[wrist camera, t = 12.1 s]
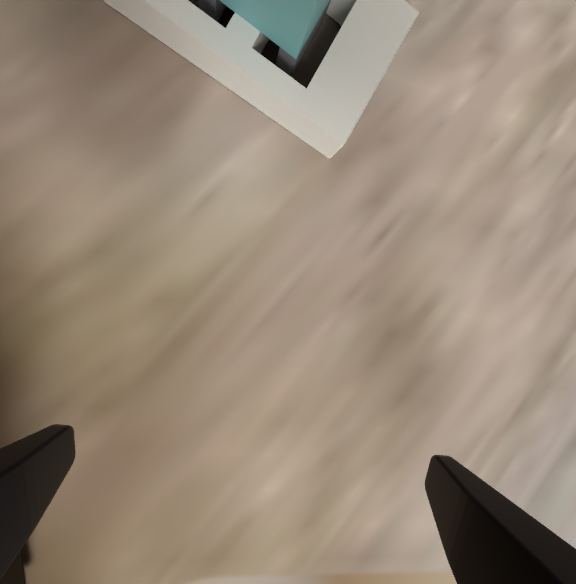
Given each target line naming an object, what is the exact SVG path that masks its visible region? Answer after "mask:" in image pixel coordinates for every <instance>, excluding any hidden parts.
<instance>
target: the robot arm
mask: <svg viewBox="0 0 576 584" xmlns="http://www.w3.org/2000/svg"><path fill="white" fill-rule="evenodd" d="M74 459H75V440H74V429H73V428H72V426H69V425H59V424H55V425H51V426H49V427H47V428H44V429H42V430H40V431H38V432H36V433H34V434H31V435H29V436H27V437H25V438H23V439H21V440H18V441H16V442H14V443H12V444H10V445H8V446H5V447H3V448H1V449H0V584H25V581H24V574H23V566H22V558H21V549H22V547H23V546H24V544H25V543H26V541H27V540H28V538H29V537H30V535H31V534H32V532H33V531H34V529H35V527H36V526H37V524H38V523H39V521H40V519H41V518H42V516H43V514H44V512H45V511H46V509H47V507H48V506H49V504H50V502H51V500H52V499H53V497H54V495H55V493H56V492H57V490H58V488H59V487H60V485H61V483H62V481H63V480H64V478H65V476H66V475H67V473H68V471H69V469H70V468H71V466H72V464H73V462H74ZM425 489H426V493H427V496H428V500H429V503H430V506H431V509H432V512H433V515H434V519H435V522H436V525H437V528H438V531H439V535H440V538H441V541H442V544H443V547H444V550H445V553H446V556H447V559H448V562H449V564H450V567H451V570H452V572H453V575H454V577H455V579H456V582H457V584H576V549H575V548H574V547H572V546H571V545H570V544H568V543H567V542H566V541H564V540H563V539H561V538H560V537H559V536H557V535H556V534H555V533H553V532H552V531H551V530H549V529H548V528H547V527H545V526H544V525H542V524H541V523H540V522H538V521H537V520H536V519H534V518H533V517H532V516H530V515H529V514H528V513H526V512H525V511H524V510H522V509H521V508H519V507H518V506H517V505H515V504H514V503H513V502H511V501H510V500H509V499H507V498H506V497H505V496H503V495H502V494H500V493H499V492H498V491H496V490H495V489H494V488H492V487H491V486H490V485H488V484H487V483H486V482H484V481H483V480H482V479H480V478H479V477H477V476H476V475H475V474H473V473H472V472H471V471H469V470H468V469H467V468H465V467H464V466H463V465H461V464H460V463H458V462H457V461H456V460H454V459H453V458H452V457H450V456H444V455H434V456H432V458H431V460H430V464H429V468H428V472H427V475H426V479H425Z"/></svg>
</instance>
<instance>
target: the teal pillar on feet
mask: <svg viewBox="0 0 576 584" xmlns="http://www.w3.org/2000/svg"><path fill="white" fill-rule="evenodd" d="M330 2H331V0H199V8H200V10H202V11H203V12H204V13H206V14H207V15H208V16H210V17H211V18H213V19H214V20H215V21H217V22H218V20H219V18H220V17H221V15H222V13H223V11H224V10H225V8H226V6H227V7H229V8H230V9H231V10H233V11H234V12H235V13H236V14H238V15H239V16H240V17H242V18H243V19H244V20H246V21H247V22H248V23H249V24H251V25H252V26H253V27H255V28H256V29H257V30H259V31H260V32H261V33H262V34H264V35H265V36H266V37H268V38H269V39H270V40H272V41H273V42H274V43H275V44H277V45H278V46H279V47H280V49H279V53H278V57H277V61H276V66H277V67H278V68H280V69H281V70H282V71H284V72H285V73H286V74H288V75H289V76H290V77H291V76H292V74H293V72H294V71H295V69H296V67H297V65H298V64H299V62H300V60H301V58H302V57H303V55H304V53H305V51H306V50H307V48H308V46H309V44H310V43H311V41H312V39H313V37H314V36H315V34H316V32H317V30H318V29H319V27H320V25H321V23H322V21H323V19H324V17H325V14H326V12H327V9H328V7H329V4H330Z"/></svg>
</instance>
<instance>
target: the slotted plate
mask: <svg viewBox="0 0 576 584" xmlns="http://www.w3.org/2000/svg"><path fill="white" fill-rule="evenodd" d="M103 1H104V2H105V3H107V4H108V5H110V6H111V7H113V8H114V9H115V10H117V11H118V12H120V13H121V14H123V15H124V16H125V17H127V18H128V19H130V20H131V21H133V22H134V23H135V24H137V25H138V26H140V27H141V28H143V29H144V30H145V31H147V32H148V33H150V34H151V35H153V36H154V37H155V38H157V39H158V40H160V41H161V42H163V43H164V44H165V45H167V46H168V47H170V48H171V49H173V50H174V51H175V52H177V53H178V54H180V55H181V56H183V57H184V58H185V59H187V60H188V61H190V62H191V63H193V64H194V65H196V66H197V67H198V68H200V69H201V70H203V71H204V72H206V73H207V74H208V75H210V76H211V77H213V78H214V79H216V80H217V81H218V82H220V83H221V84H223V85H224V86H226V87H227V88H228V89H230V90H231V91H233V92H234V93H236V94H237V95H238V96H240V97H241V98H243V99H244V100H246V101H247V102H248V103H250V104H251V105H253V106H254V107H256V108H257V109H258V110H260V111H261V112H263V113H264V114H266V115H267V116H268V117H270V118H271V119H273V120H274V121H276V122H277V123H278V124H280V125H281V126H283V127H284V128H286V129H287V130H289V131H290V132H291V133H293V134H294V135H296V136H297V137H299V138H300V139H301V140H303V141H304V142H306V143H307V144H309V145H310V146H311V147H313V148H314V149H316V150H317V151H319V152H320V153H321V154H323V155H324V156H326V157H327V158H329V159H330V158H331V157H332V156H333V155H334V154H335V153H336V152H337V151H338V150H339V149H340V148H342V147H343V146H344V145H345V143H346V141H347V139H348V138H349V136H350V134H351V132H352V130H353V129H354V127H355V125H356V123H357V122H358V120H359V118H360V116H361V115H362V113H363V111H364V109H365V107H366V106H367V104H368V102H369V100H370V99H371V97H372V95H373V93H374V92H375V90H376V88H377V86H378V84H379V83H380V81H381V79H382V77H383V76H384V74H385V72H386V70H387V69H388V67H389V65H390V63H391V62H392V60H393V58H394V56H395V54H396V53H397V51H398V49H399V47H400V46H401V44H402V42H403V40H404V39H405V37H406V35H407V33H408V31H409V30H410V28H411V26H412V24H413V23H414V21H415V19H416V17H417V16H418V14H419V12H418V11H417V10H415V9H414V8H413V7H412V6H411V5H410V4H409V3H408V2H406V1H405V0H331V2H330V4H329V7H328V9H327V12H326V14H328V15H329V16H330V17H331V18H333V19H334V20H335V21H336V22H337V23H339V24H340V25H341V26H342V27H341V29H340V30H339V32H338V34H337V36H336V37H335V39H334V41H333V43H332V45H331V46H330V48H329V50H328V52H327V53H326V55H325V57H324V59H323V60H322V62H321V64H320V66H319V68H318V69H317V71H316V73H315V75H314V76H313V78H312V80H311V82H310V83H309V85H308V87H307V89H306V88H305V87H304V86H302V85H301V84H300V83H298V82H297V81H296V80H294V79H293V78H292V77H290V76H289V75H288V74H286V73H285V72H284V71H282V70H281V69H280V68H278V67H277V66H276V65H274V64H273V63H272V62H270V61H269V60H268V59H266V58H265V57H264V56H262V55H261V53H262V51H263V49H264V47H265V46H266V44H267V42H268V40H269V38H268V37H266V36H265V35H264V34H262V33H261V32H260V31H259V30H257V29H256V28H255V27H253V26H252V25H251V24H249V23H248V22H247V21H246V20H244V19H243V18H242V17H240V16H239V15H238V14H236V13H234V15H233V16H232V18H231V20H230V22H229V23H228V25H227V27H226V28H225V27H223V26H222V25H221V24H219V23H218V22H217V21H215V20H214V19H213V18H211V17H210V16H208V15H207V14H206V13H204V12H203V11H202V10H200V9H199V8H198V7H196V6H195V5H194V4H192V3H191V2H190V1H188V0H103Z"/></svg>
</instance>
